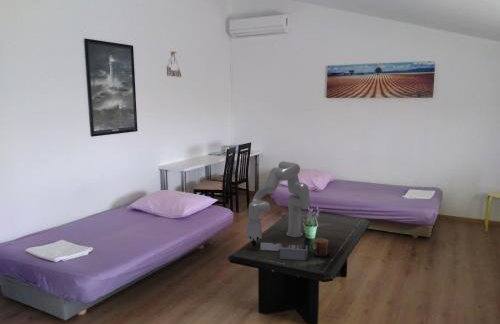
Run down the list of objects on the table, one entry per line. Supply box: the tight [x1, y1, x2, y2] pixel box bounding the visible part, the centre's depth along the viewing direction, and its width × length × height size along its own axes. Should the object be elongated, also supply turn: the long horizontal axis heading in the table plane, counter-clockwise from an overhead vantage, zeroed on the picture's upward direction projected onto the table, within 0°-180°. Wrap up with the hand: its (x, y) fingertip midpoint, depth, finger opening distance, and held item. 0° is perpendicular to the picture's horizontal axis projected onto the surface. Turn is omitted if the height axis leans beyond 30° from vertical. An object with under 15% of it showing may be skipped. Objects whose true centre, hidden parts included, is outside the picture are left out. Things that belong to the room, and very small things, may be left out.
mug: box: [310, 237, 329, 258], centre depth 266 cm, size 12×9×10 cm
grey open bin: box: [278, 243, 308, 261], centre depth 265 cm, size 12×18×7 cm, turn 80°
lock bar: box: [260, 241, 281, 252], centre depth 275 cm, size 2×14×6 cm, turn 80°
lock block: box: [288, 244, 299, 249], centre depth 266 cm, size 8×6×6 cm
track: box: [258, 248, 279, 253], centre depth 276 cm, size 3×14×1 cm, turn 80°
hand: (254, 245), depth 277 cm, fingers closed
